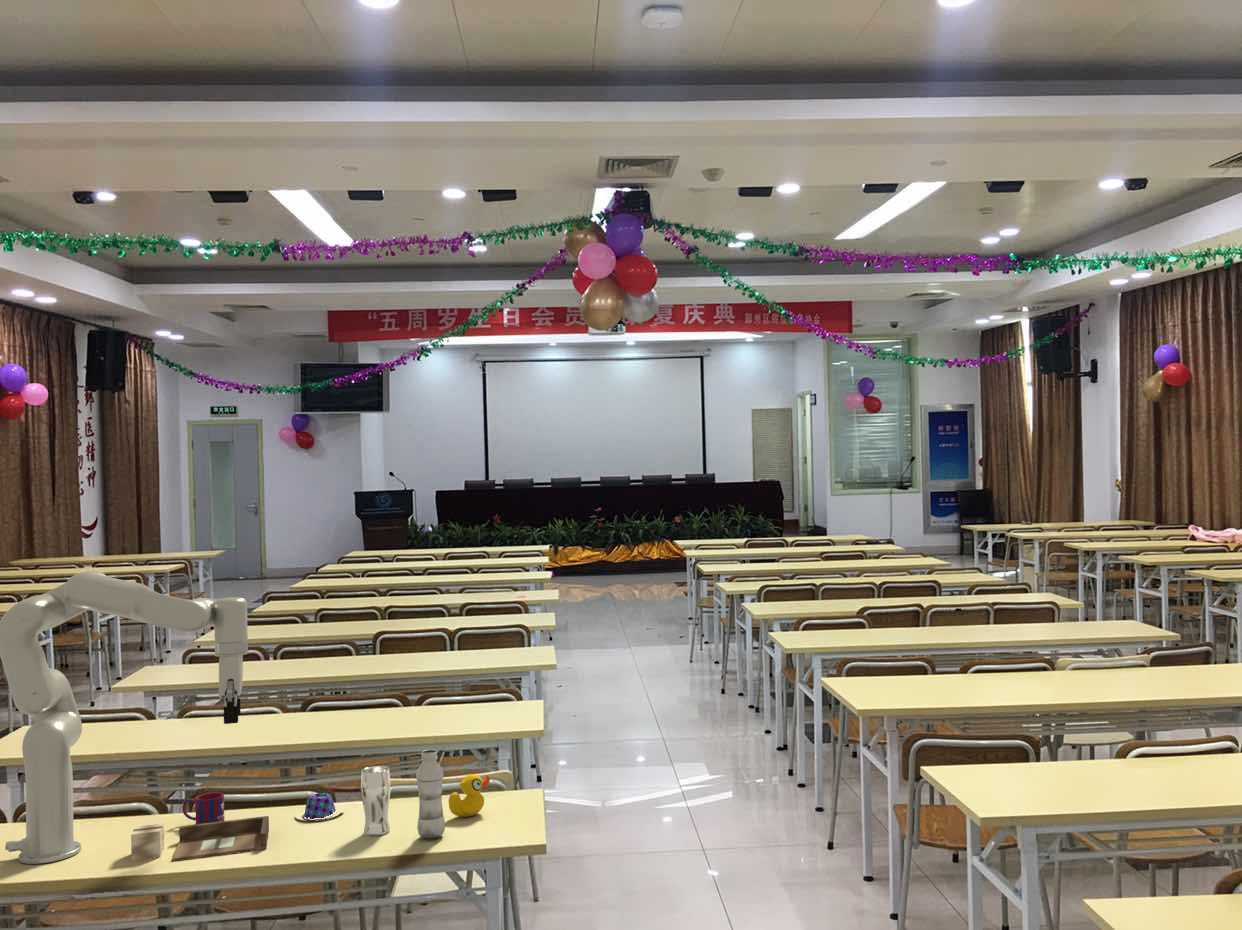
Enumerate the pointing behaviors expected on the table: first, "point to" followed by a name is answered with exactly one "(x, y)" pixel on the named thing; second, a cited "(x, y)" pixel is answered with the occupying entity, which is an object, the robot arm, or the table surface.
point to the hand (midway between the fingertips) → (232, 719)
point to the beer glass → (376, 799)
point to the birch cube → (147, 842)
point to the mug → (207, 808)
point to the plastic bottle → (430, 796)
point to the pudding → (319, 806)
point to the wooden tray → (222, 838)
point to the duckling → (469, 796)
